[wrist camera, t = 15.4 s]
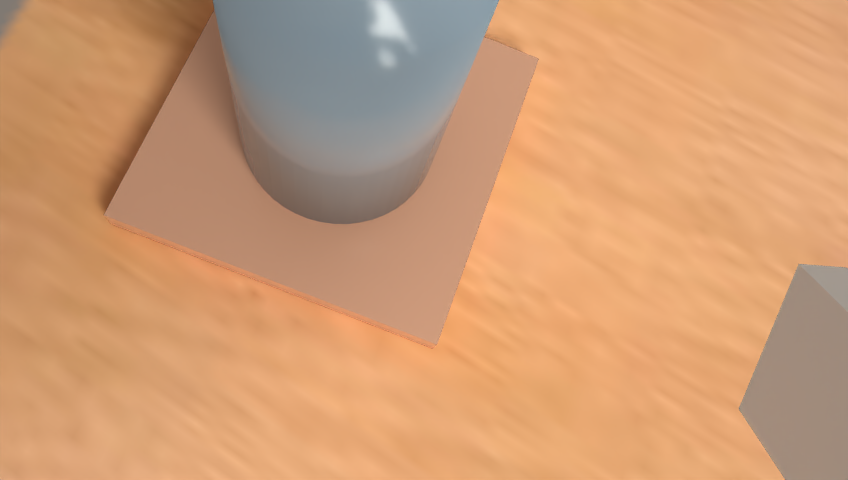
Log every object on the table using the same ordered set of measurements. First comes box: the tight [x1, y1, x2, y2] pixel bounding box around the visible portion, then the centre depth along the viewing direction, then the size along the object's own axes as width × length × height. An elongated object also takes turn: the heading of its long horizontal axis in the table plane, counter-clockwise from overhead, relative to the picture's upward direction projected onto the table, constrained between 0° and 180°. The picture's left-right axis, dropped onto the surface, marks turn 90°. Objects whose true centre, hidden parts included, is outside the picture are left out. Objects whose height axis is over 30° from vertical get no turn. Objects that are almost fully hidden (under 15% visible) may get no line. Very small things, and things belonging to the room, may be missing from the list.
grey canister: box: [213, 0, 499, 224], centre depth 24 cm, size 10×8×12 cm
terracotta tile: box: [104, 9, 539, 349], centre depth 30 cm, size 13×13×1 cm
